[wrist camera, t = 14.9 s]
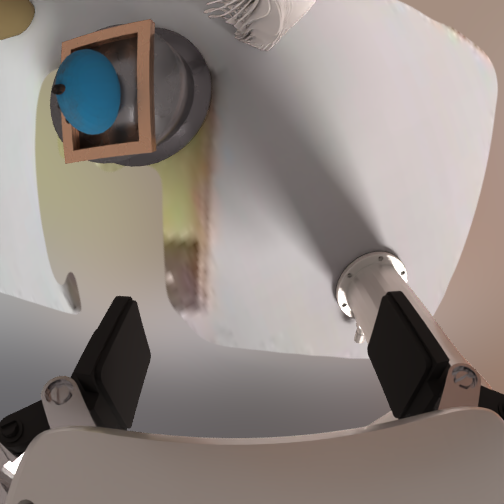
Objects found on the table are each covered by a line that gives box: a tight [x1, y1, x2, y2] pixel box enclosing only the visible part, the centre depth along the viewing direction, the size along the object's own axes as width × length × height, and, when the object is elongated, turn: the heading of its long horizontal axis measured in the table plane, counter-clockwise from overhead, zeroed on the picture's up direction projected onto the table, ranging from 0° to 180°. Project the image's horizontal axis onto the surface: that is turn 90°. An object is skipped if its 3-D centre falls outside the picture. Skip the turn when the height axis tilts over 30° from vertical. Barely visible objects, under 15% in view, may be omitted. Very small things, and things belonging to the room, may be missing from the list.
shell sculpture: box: [204, 0, 316, 51], centre depth 22 cm, size 8×8×18 cm
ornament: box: [52, 49, 121, 135], centre depth 19 cm, size 8×5×10 cm, turn 8°
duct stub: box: [50, 19, 212, 166], centre depth 28 cm, size 19×19×12 cm
